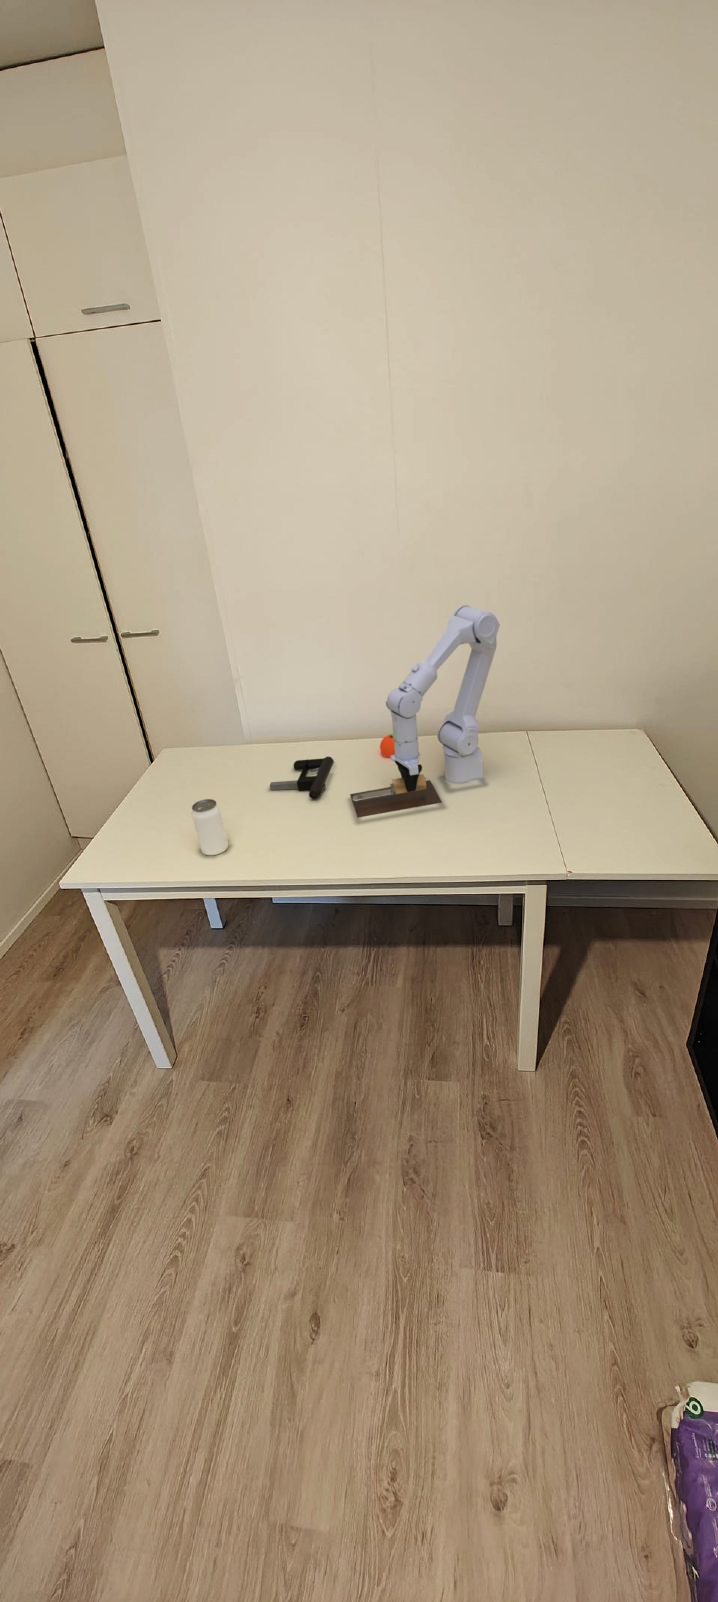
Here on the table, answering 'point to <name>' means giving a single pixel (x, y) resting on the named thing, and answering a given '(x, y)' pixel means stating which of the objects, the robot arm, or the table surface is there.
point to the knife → (392, 789)
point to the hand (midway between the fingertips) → (409, 787)
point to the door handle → (311, 782)
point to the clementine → (387, 746)
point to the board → (395, 801)
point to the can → (209, 827)
